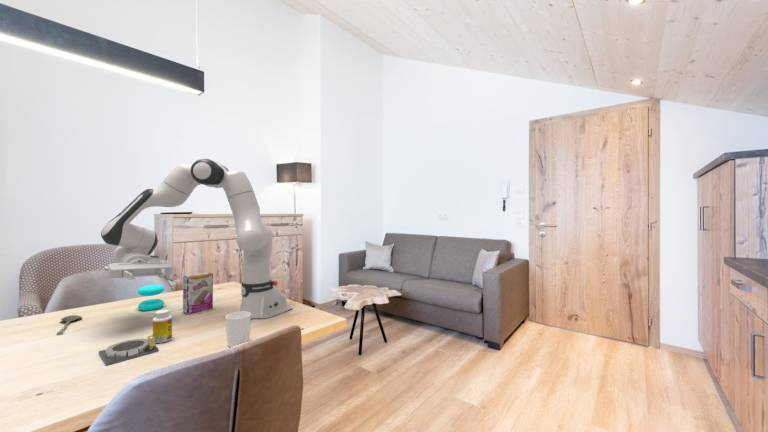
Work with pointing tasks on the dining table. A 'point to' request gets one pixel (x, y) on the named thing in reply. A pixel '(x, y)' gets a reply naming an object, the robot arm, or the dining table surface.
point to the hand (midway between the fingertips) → (148, 276)
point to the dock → (128, 350)
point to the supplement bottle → (162, 326)
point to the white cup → (238, 328)
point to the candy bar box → (197, 292)
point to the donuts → (151, 303)
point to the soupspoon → (68, 319)
